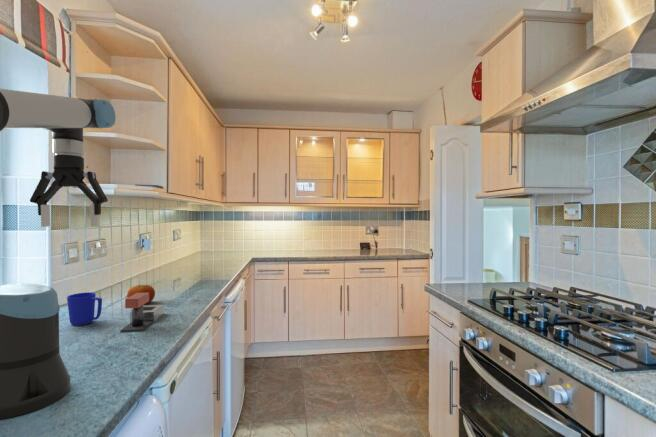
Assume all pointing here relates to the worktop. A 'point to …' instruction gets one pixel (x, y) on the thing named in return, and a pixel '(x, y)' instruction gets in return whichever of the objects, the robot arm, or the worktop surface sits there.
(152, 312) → the block
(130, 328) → the mat
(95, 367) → the worktop surface
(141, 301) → the key
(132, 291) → the fruit
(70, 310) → the mug
